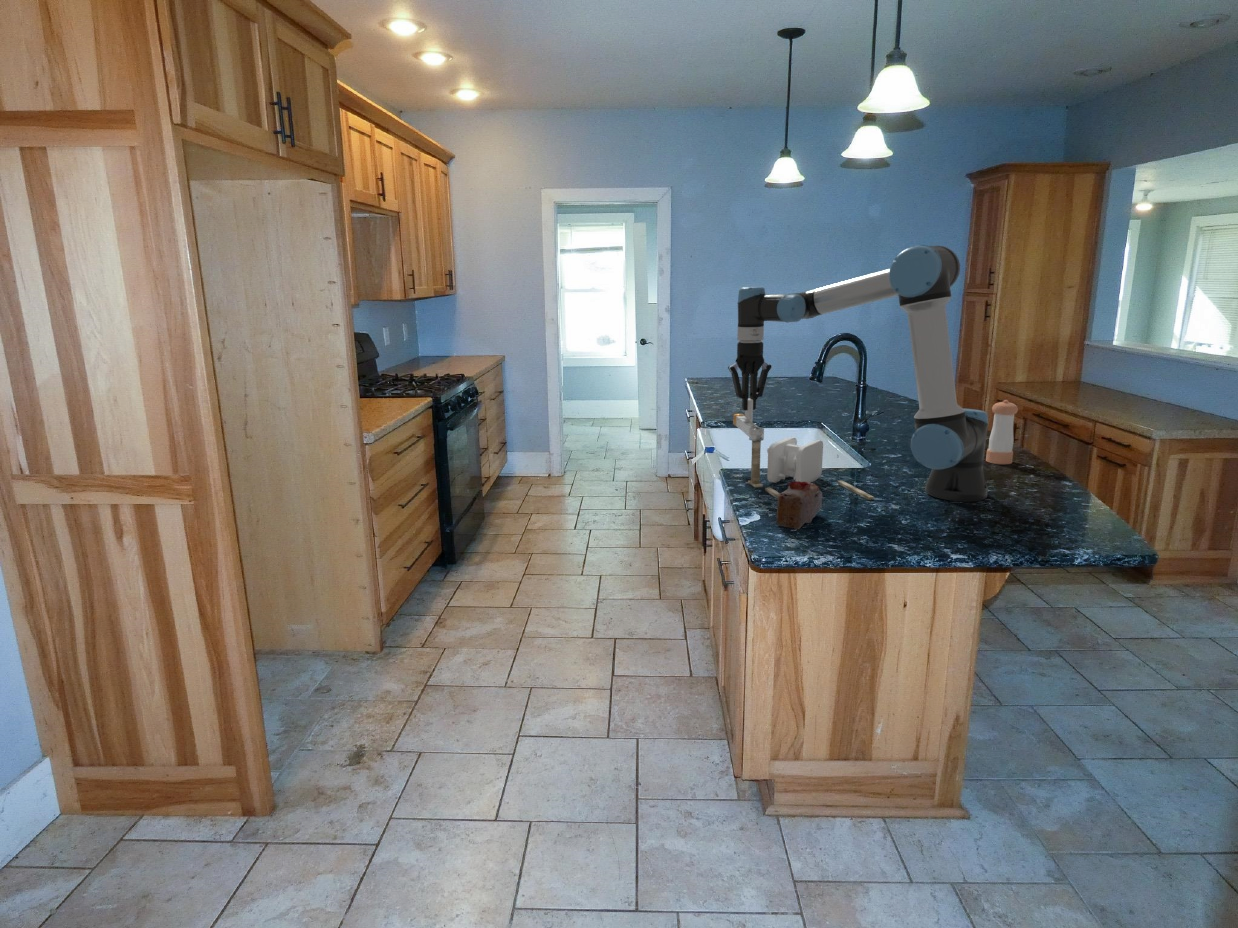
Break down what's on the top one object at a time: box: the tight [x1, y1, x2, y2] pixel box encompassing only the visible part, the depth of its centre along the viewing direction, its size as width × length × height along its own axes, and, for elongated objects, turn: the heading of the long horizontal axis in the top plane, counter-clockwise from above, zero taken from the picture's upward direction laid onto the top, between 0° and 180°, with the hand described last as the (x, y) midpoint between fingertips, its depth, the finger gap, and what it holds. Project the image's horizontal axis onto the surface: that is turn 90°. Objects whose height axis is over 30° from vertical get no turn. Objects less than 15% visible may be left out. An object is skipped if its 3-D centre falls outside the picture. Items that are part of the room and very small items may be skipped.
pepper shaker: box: [985, 399, 1019, 465], centre depth 224 cm, size 7×7×19 cm
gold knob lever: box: [732, 413, 765, 442], centre depth 214 cm, size 4×24×3 cm, turn 5°
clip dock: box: [747, 440, 875, 501], centre depth 200 cm, size 24×25×13 cm
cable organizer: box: [766, 436, 824, 484], centre depth 209 cm, size 15×11×12 cm
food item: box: [776, 480, 823, 530], centre depth 177 cm, size 14×8×10 cm, turn 148°
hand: (748, 420), depth 220 cm, fingers closed
